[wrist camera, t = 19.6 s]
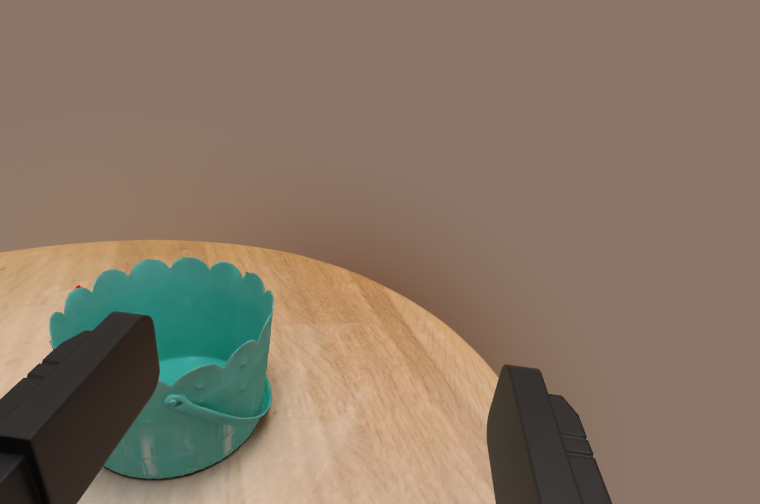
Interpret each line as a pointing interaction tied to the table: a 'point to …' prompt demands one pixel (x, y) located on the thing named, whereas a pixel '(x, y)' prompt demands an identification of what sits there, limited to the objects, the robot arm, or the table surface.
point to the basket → (186, 359)
